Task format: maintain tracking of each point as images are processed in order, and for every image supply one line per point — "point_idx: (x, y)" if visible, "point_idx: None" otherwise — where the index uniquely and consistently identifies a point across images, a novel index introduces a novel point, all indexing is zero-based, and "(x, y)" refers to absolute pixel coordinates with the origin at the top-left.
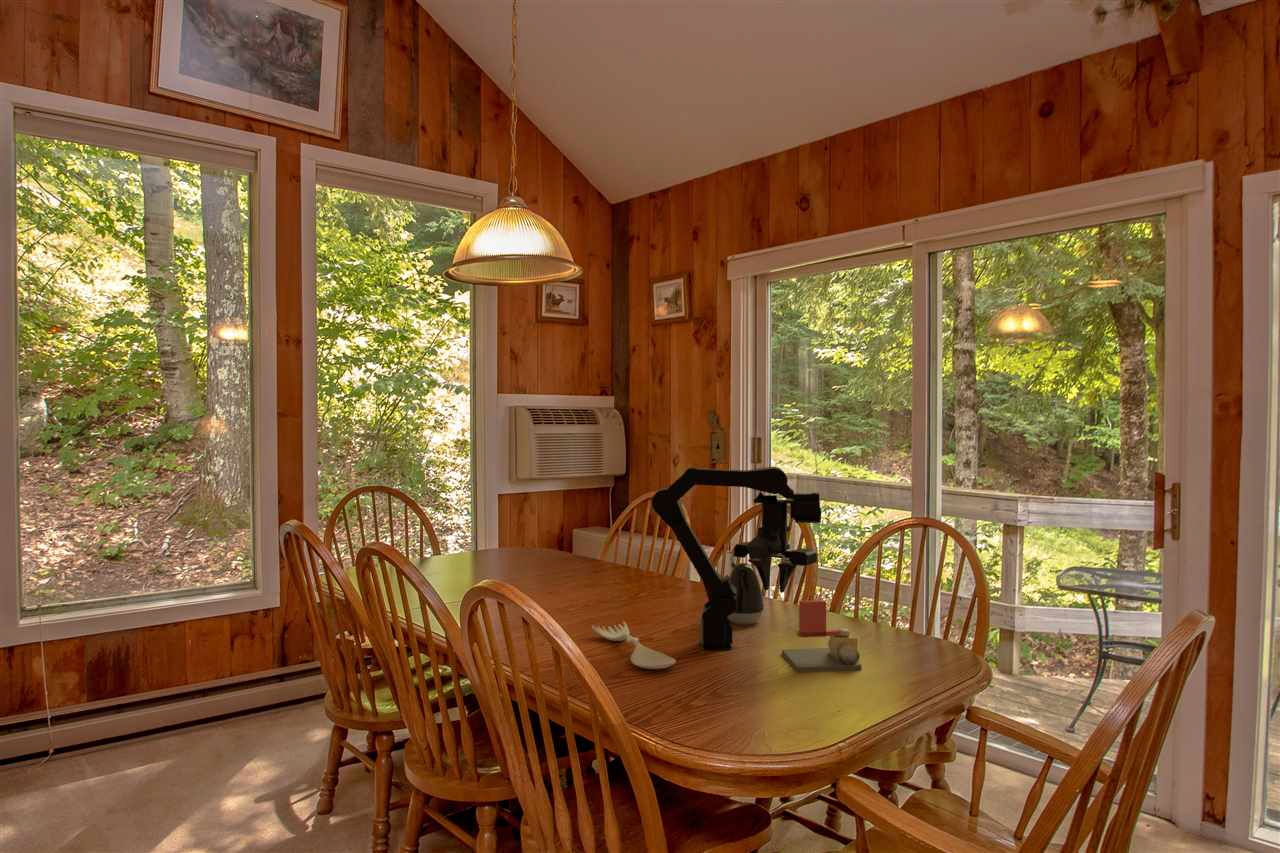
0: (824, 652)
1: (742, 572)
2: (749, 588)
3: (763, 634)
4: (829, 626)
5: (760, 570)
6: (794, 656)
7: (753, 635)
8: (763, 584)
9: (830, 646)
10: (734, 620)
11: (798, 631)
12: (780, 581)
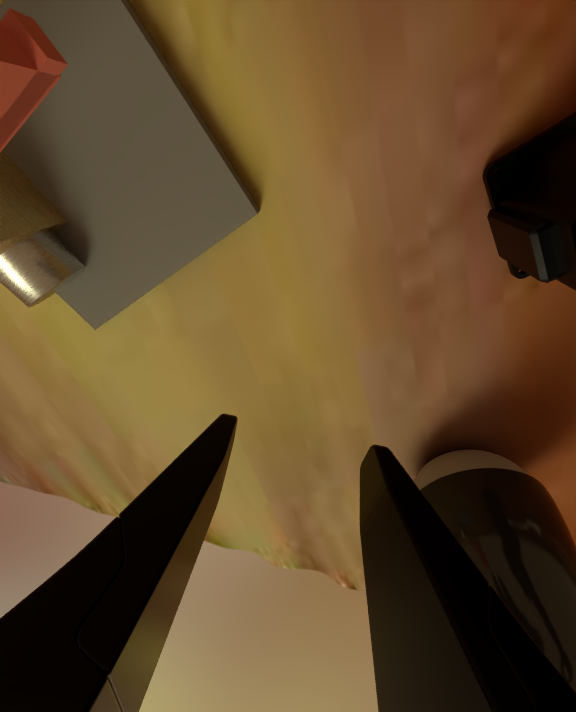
0: (105, 251)
1: (559, 668)
2: (486, 574)
3: (380, 396)
4: (232, 495)
5: (525, 690)
6: (171, 131)
7: (410, 377)
8: (410, 484)
9: (34, 222)
10: (492, 453)
11: (32, 50)
12: (190, 496)
